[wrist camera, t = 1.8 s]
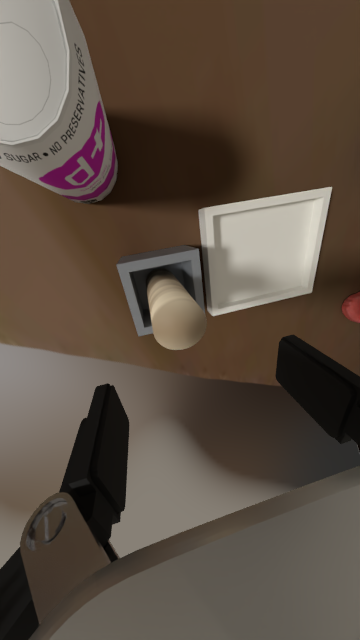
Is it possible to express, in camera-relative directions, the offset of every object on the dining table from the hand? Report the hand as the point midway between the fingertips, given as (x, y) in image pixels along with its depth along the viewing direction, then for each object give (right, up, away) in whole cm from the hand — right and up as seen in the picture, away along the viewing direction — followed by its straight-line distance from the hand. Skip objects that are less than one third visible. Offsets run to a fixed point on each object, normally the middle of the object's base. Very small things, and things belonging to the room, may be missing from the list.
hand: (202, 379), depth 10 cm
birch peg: (-4, +9, +17) cm, 19 cm away
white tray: (+11, +14, +19) cm, 26 cm away
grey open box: (-4, +9, +17) cm, 20 cm away
